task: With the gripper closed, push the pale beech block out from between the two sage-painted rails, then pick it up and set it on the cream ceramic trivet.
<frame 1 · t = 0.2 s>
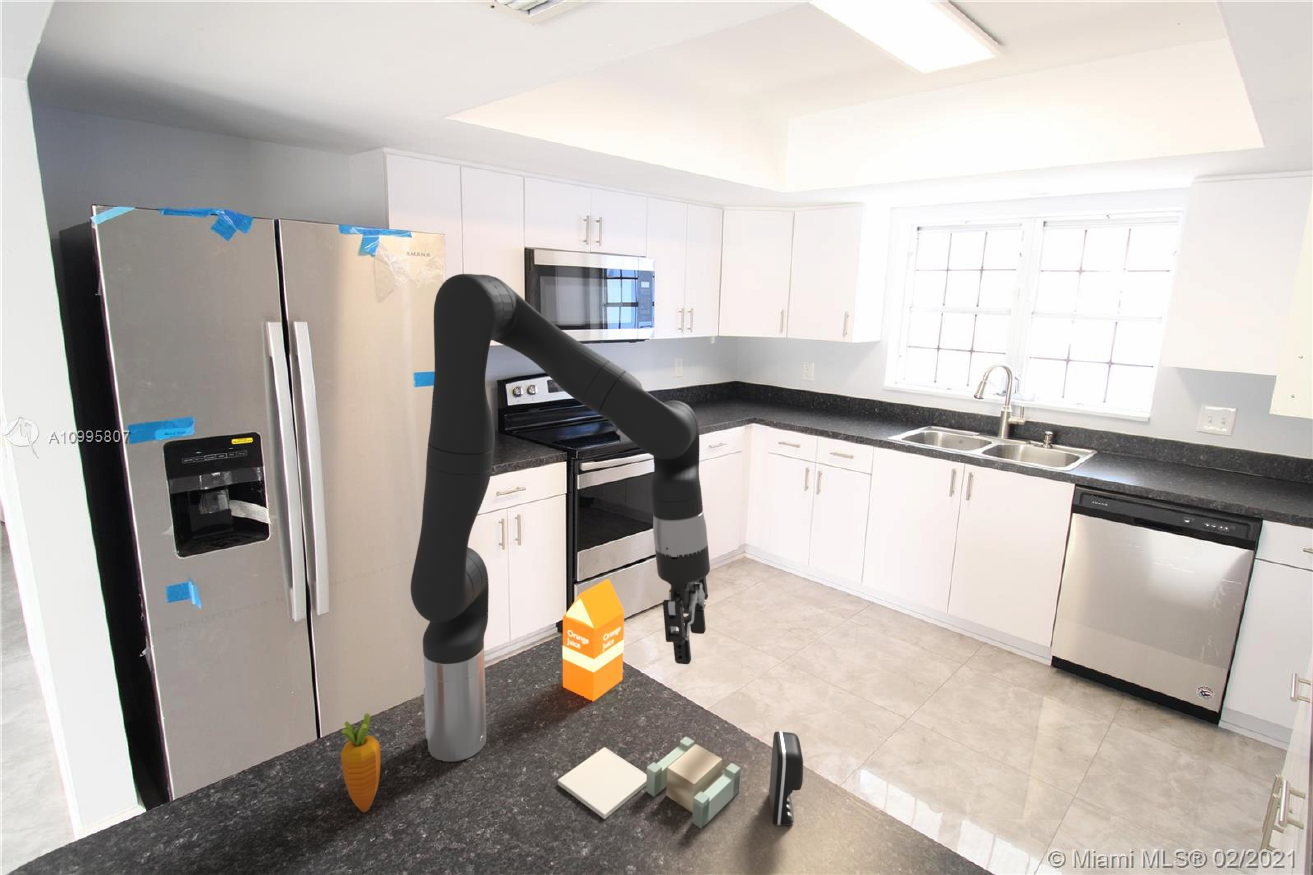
hand: (691, 647, 97), 23 cm above the countertop, tool pointing down, fingers open, 8 cm apart
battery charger: (783, 811, 97), on the countertop
block: (693, 791, 100), on the countertop
trivet: (604, 783, 101), on the countertop
rails: (692, 791, 100), on the countertop
carrot: (365, 812, 94), on the countertop
orange juice: (593, 684, 127), on the countertop
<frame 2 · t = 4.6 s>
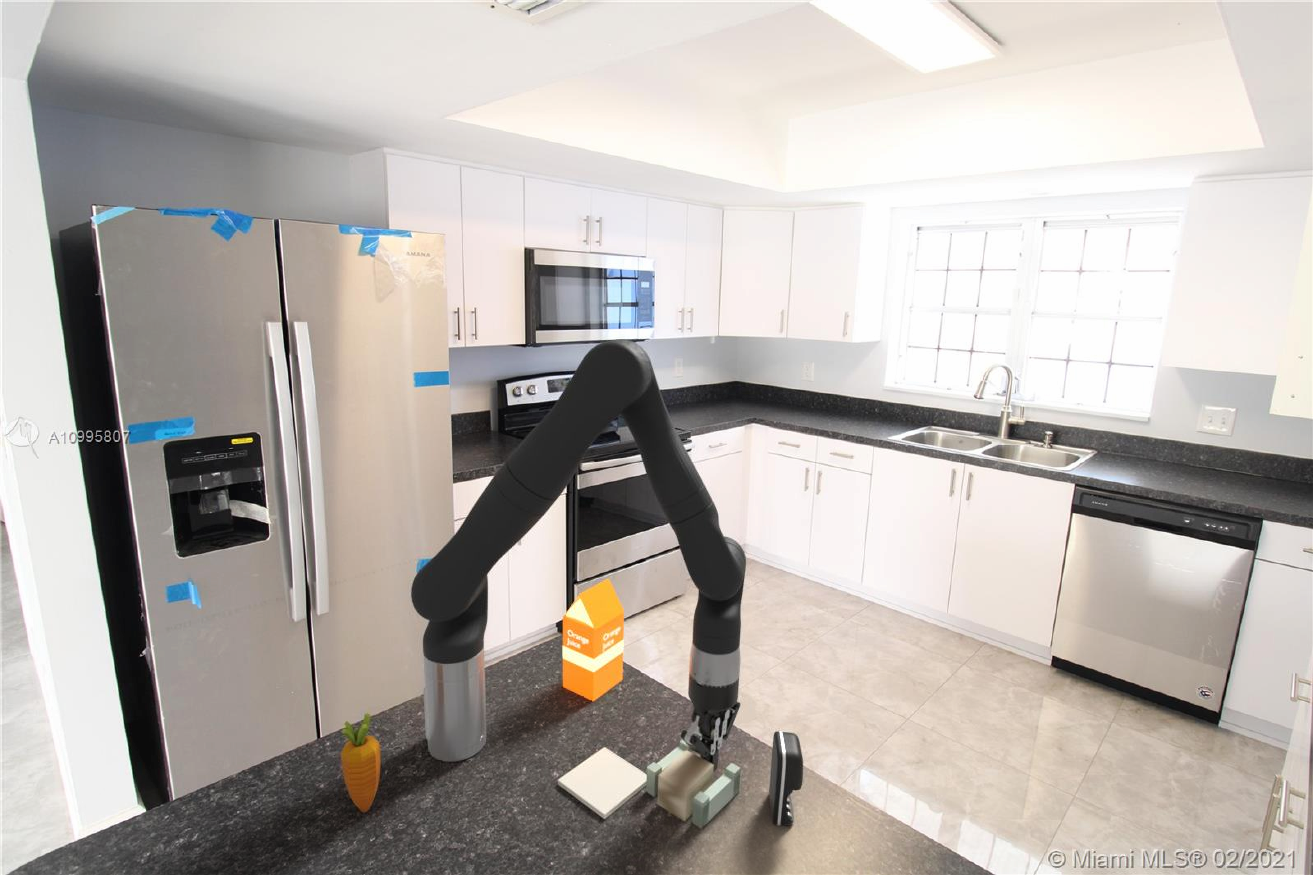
hand: (708, 769, 103), 1 cm above the countertop, tool pointing down, fingers closed
block: (684, 798, 99), on the countertop, touching gripper
everything else where it was.
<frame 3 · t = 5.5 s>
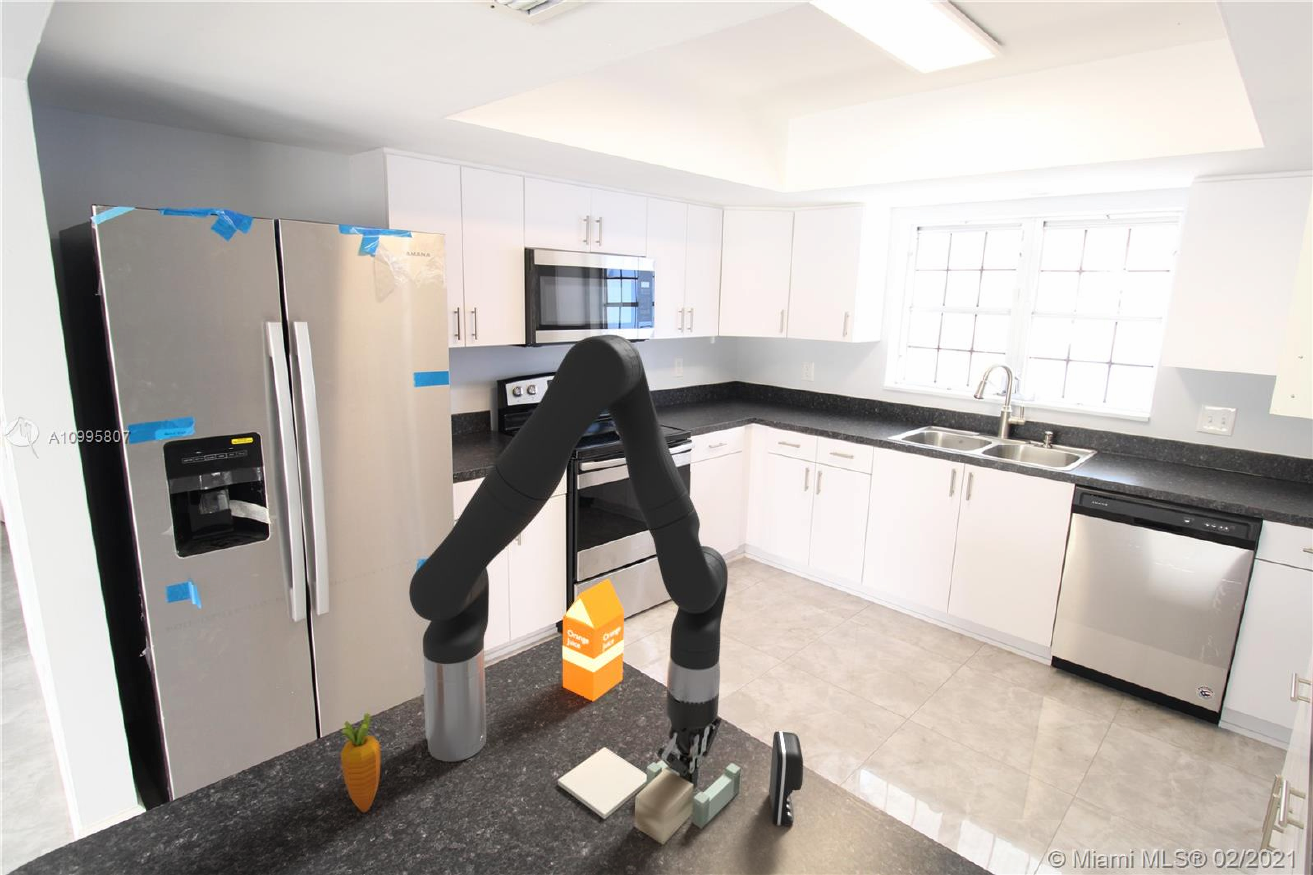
hand: (688, 787, 99), 1 cm above the countertop, tool pointing down, fingers closed
block: (663, 820, 95), on the countertop, touching gripper
everything else where it was.
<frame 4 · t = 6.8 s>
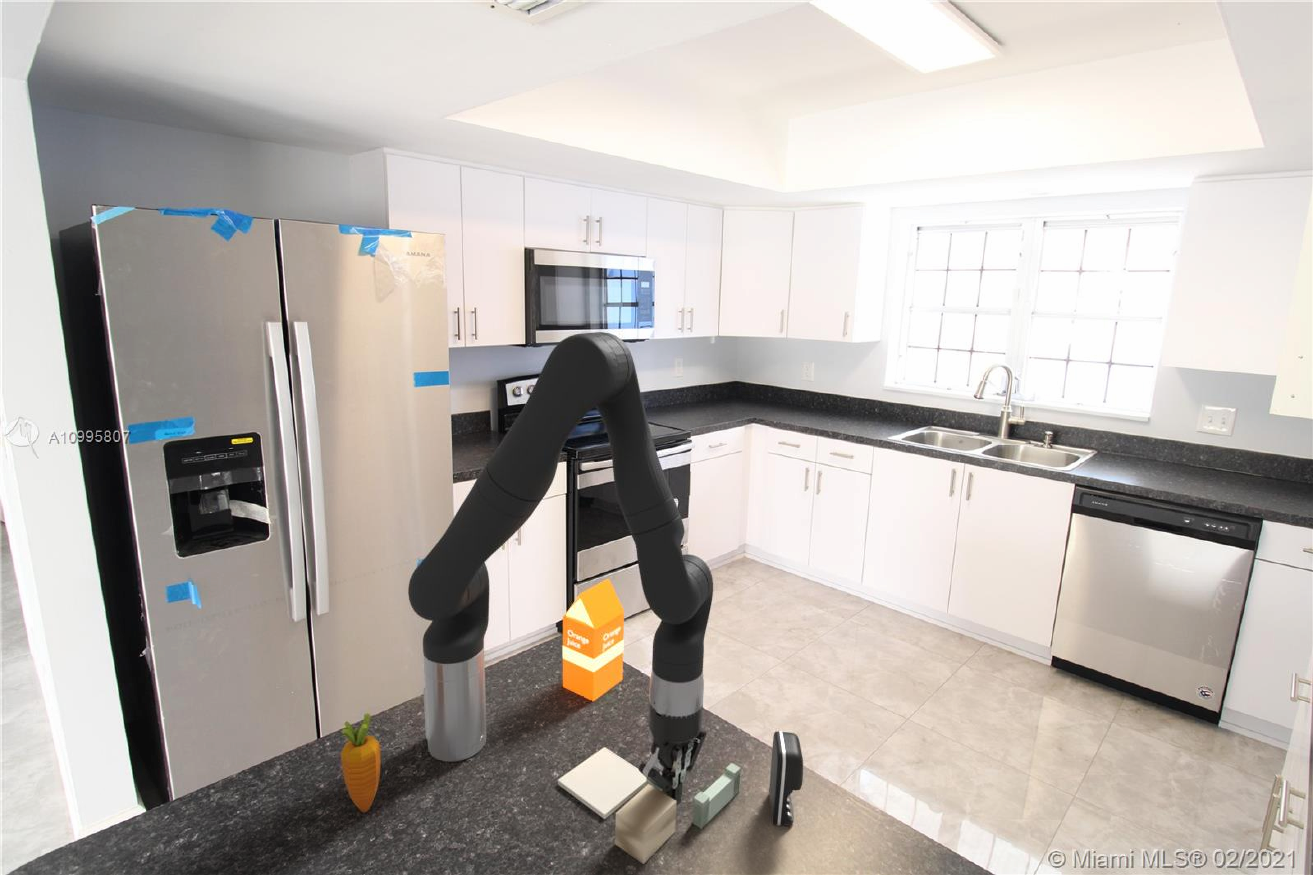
hand: (671, 803, 96), 1 cm above the countertop, tool pointing down, fingers closed
block: (645, 837, 92), on the countertop, touching gripper
everything else where it was.
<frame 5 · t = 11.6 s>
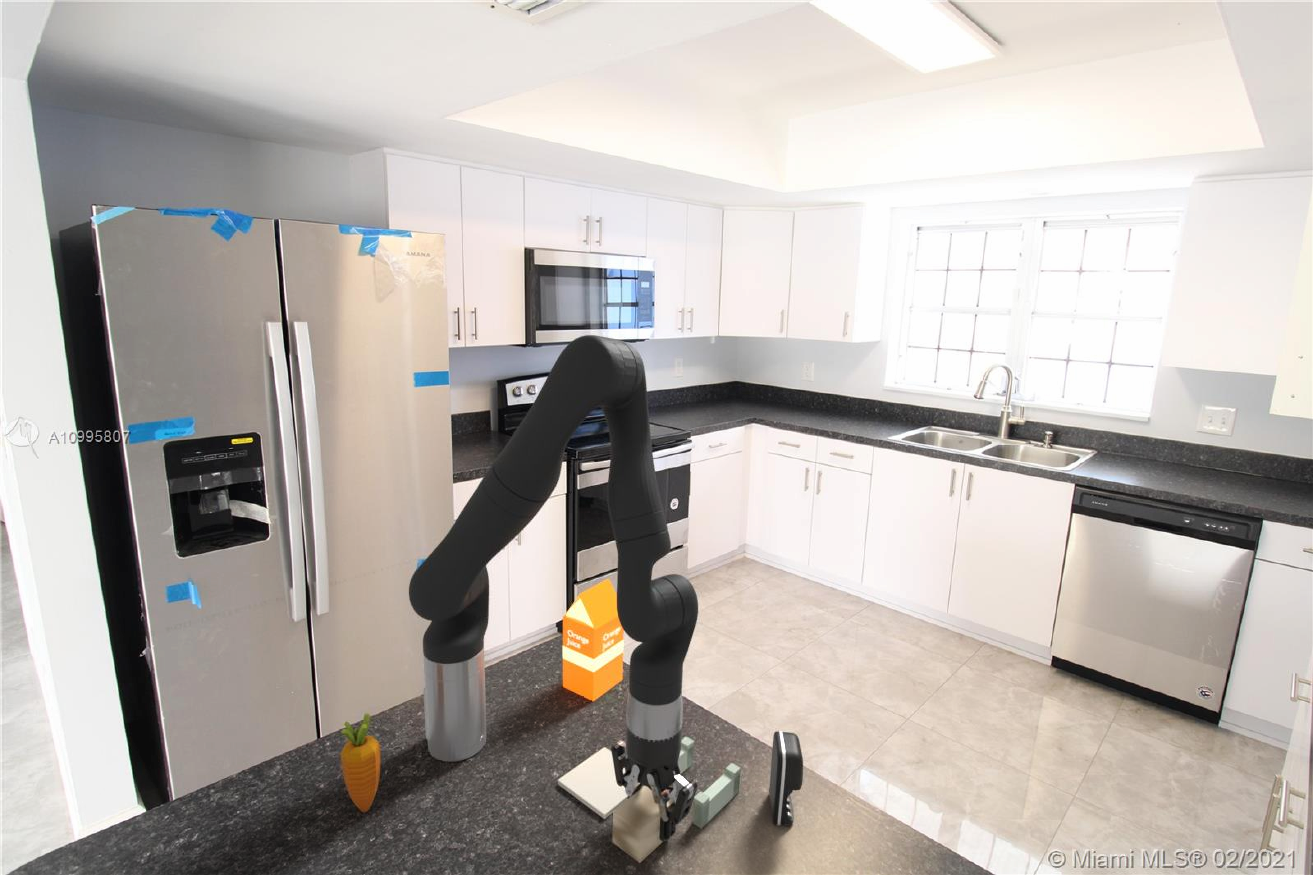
hand: (650, 825, 93), 1 cm above the countertop, tool pointing down, fingers closed on block, 5 cm apart
block: (643, 837, 92), on the countertop, touching gripper
everything else where it was.
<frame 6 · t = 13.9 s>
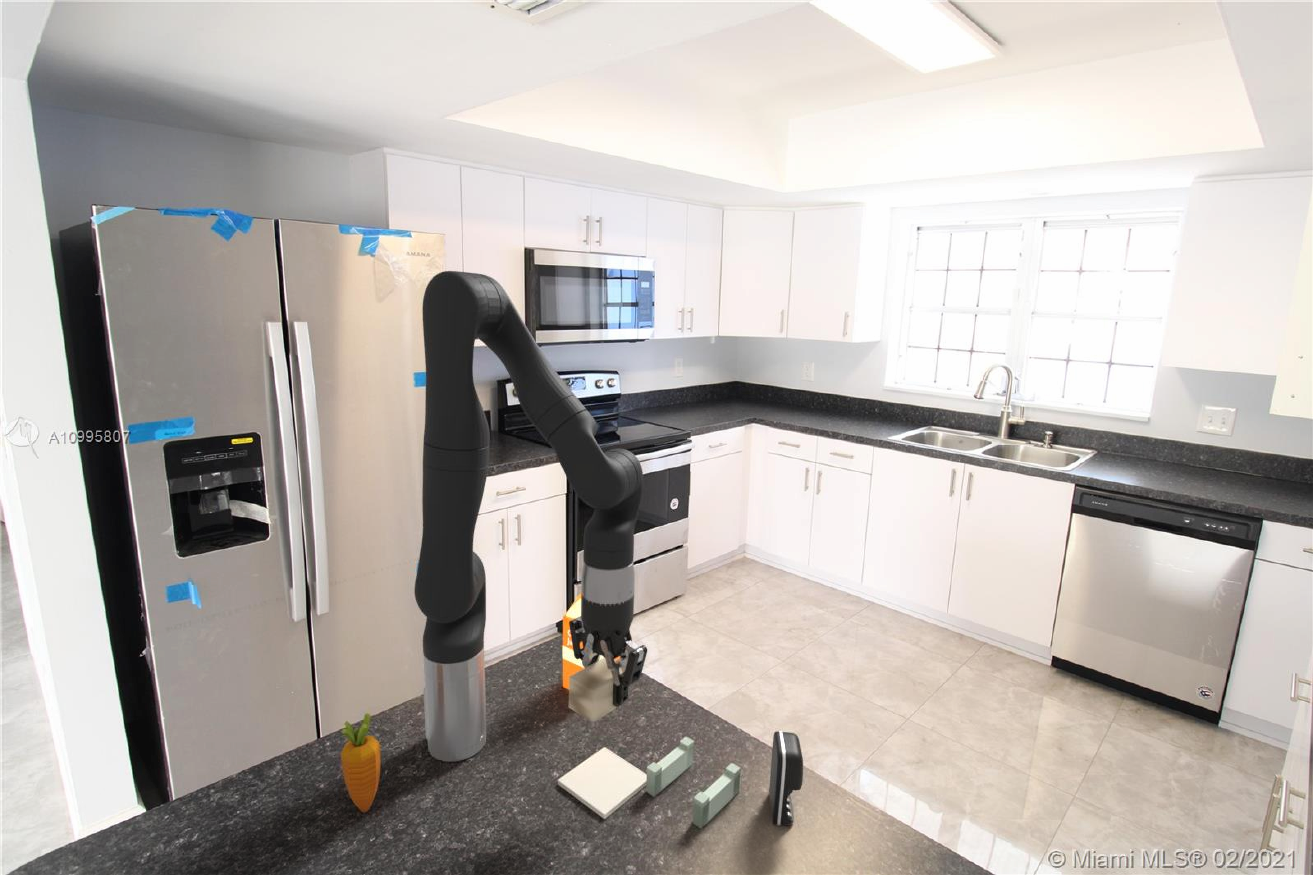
hand: (605, 695, 98), 15 cm above the countertop, tool pointing down, fingers closed on block, 5 cm apart
block: (598, 704, 97), point 14 cm above the countertop, touching gripper
everything else where it was.
when the fingers open (2 cm above the countertop, at t = 16.7 s): block stays where it is, resting on trivet.
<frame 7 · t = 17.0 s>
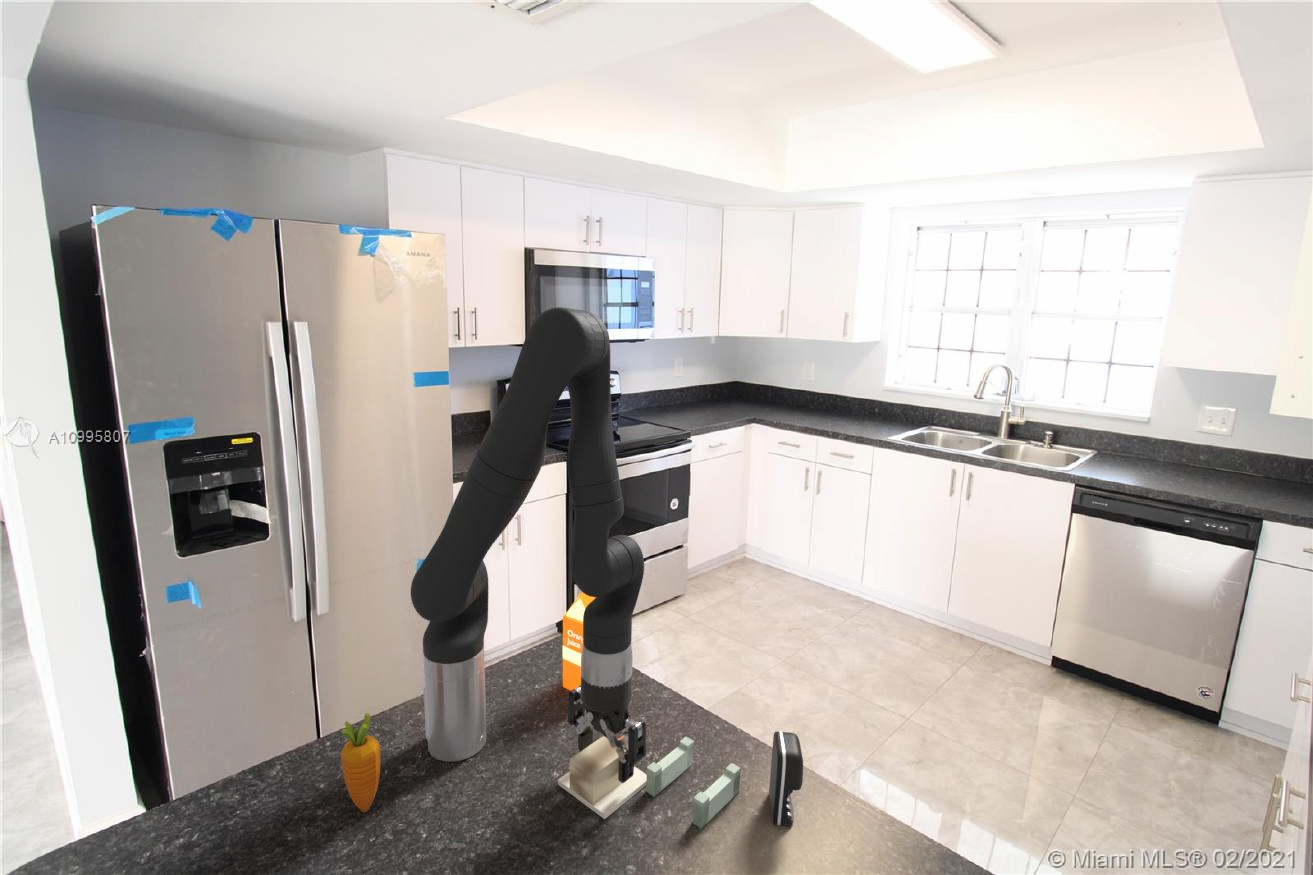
hand: (604, 765, 101), 3 cm above the countertop, tool pointing down, fingers open, 8 cm apart
block: (598, 783, 100), point 1 cm above the countertop, touching trivet
everything else where it was.
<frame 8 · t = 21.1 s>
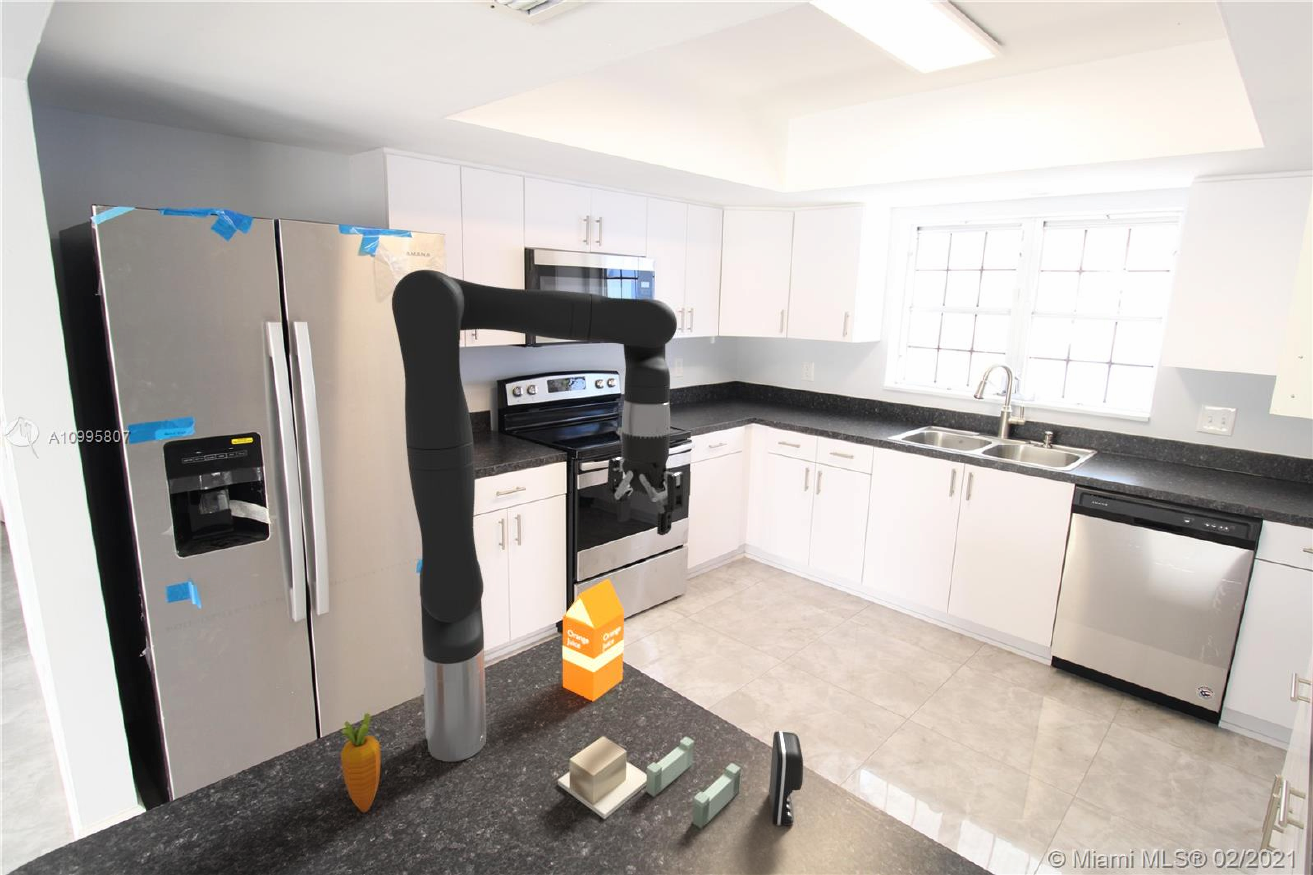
hand: (642, 527, 107), 36 cm above the countertop, tool pointing down, fingers open, 8 cm apart
nothing on the countertop moved.
at the end: block 1.4 cm from the trivet (horizontally); block point 0.8 cm above the countertop; the gripper is holding nothing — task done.
